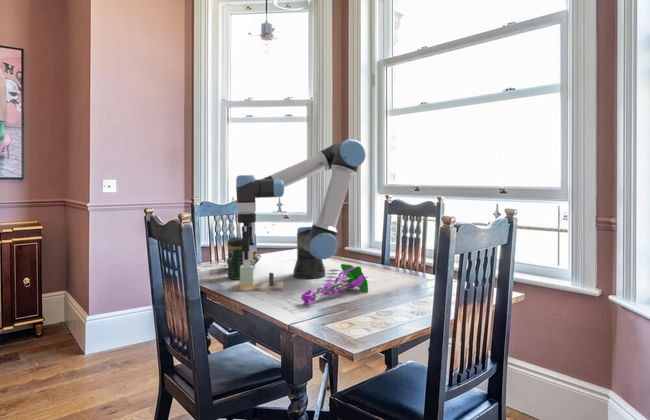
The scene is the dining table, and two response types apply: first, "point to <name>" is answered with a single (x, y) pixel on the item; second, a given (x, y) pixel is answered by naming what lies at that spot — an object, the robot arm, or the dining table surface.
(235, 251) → the coffee jar
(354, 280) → the purple and green stem
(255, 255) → the lucky cat figurine
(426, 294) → the dining table surface
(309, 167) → the robot arm
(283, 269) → the dining table surface
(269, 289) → the pin board
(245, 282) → the sleeve
